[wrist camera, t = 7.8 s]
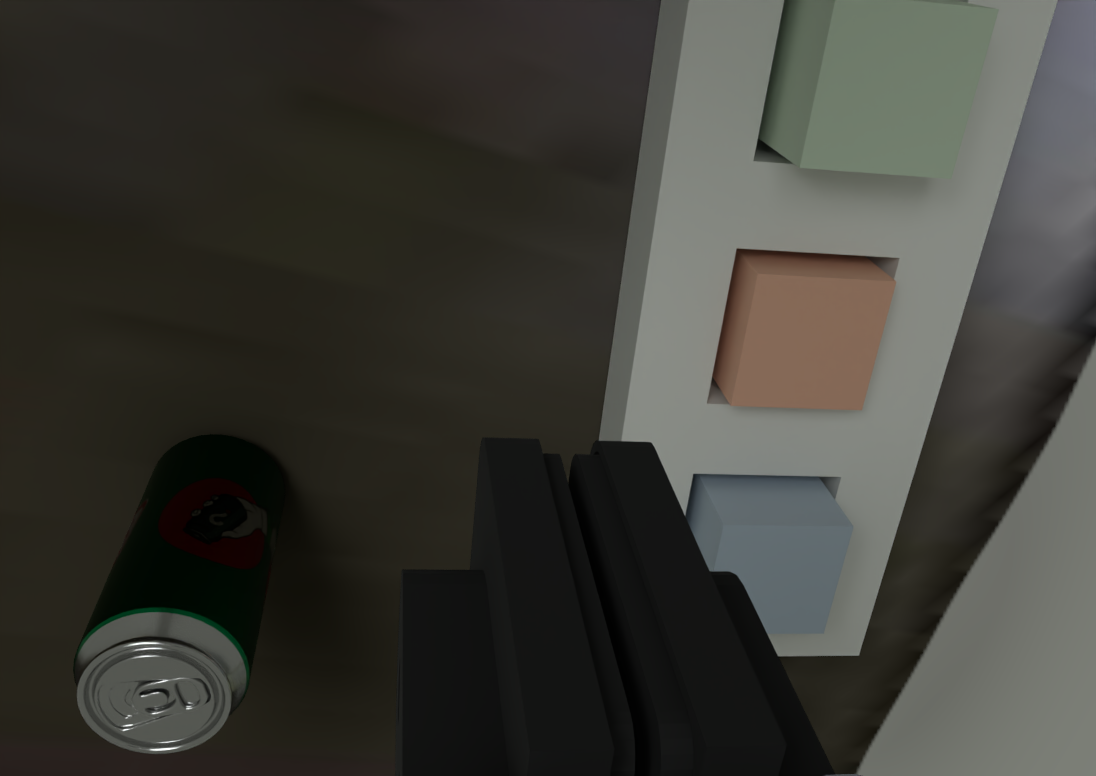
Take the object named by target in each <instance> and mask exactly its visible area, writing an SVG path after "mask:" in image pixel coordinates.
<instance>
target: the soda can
mask: <svg viewBox="0 0 1096 776" xmlns="http://www.w3.org/2000/svg"><path fill="white" fill-rule="evenodd" d="M284 500H285V485H284V481H283V477H282V475H281V473H280V470H279V469H278V467H277V465H276V464H275V462H274V461H273V460H272V459H271V458H270V457H269V456H268V455H267V454H266V453H265V452H264V451H262V450H261V449H260V448H258V447H257V446H255V445H253V444H252V443H249V442H247V441H245V440H243V439H239V438H236V437H233V436H226V435H213V434H210V435H201V436H196V437H193V438H189V439H187V440H184V441H182V442H180V443H178V444H176V445H175V446H173V447H172V448H170V449H169V450H168V451H167V452H166V453H165V454H164V455H163V456H162V457H161V459H160V460H159V461H158V463H157V465H156V467H155V469H154V471H153V473H152V476H151V478H150V480H149V483H148V485H147V487H146V490H145V492H144V494H143V497H142V499H141V501H140V504H139V506H138V508H137V511H136V513H135V515H134V518H133V520H132V522H131V525H130V527H129V529H128V532H127V534H126V536H125V539H124V541H123V543H122V546H121V548H120V550H119V553H118V555H117V557H116V560H115V562H114V564H113V567H112V569H111V571H110V574H109V576H108V578H107V581H106V583H105V585H104V588H103V590H102V592H101V595H100V597H99V600H98V602H97V604H96V607H95V609H94V611H93V614H92V616H91V618H90V621H89V623H88V625H87V628H86V630H85V632H84V635H83V637H82V639H81V642H80V644H79V646H78V649H77V652H76V655H75V658H74V667H73V672H74V679H75V683H76V686H77V702H78V707H79V710H80V712H81V715H82V716H83V718H84V720H85V721H86V723H87V724H88V725H89V726H90V727H91V729H92V730H93V731H95V732H96V733H97V734H98V735H99V736H101V737H102V738H104V739H105V740H107V741H108V742H110V743H112V744H115V745H117V746H119V747H122V748H125V749H128V750H131V751H136V752H141V753H150V754H166V753H174V752H179V751H183V750H187V749H190V748H192V747H195V746H198V745H200V744H201V743H203V742H205V741H207V740H208V739H209V738H211V737H212V736H213V735H215V734H216V733H217V732H218V731H219V729H220V728H221V727H222V726H223V724H224V723H225V721H226V720H227V718H228V716H229V715H231V714H232V713H233V712H234V711H235V709H236V708H237V707H238V706H239V705H240V703H241V702H242V700H243V698H244V697H245V694H246V692H247V689H248V685H249V680H250V675H251V670H252V665H253V660H254V654H255V649H256V644H257V639H258V634H259V629H260V624H261V619H262V613H263V608H264V603H265V598H266V593H267V588H268V583H269V577H270V572H271V567H272V562H273V557H274V552H275V547H276V542H277V536H278V531H279V526H280V521H281V516H282V511H283V506H284Z"/></svg>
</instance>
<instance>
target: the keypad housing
mask: <svg viewBox="0 0 1096 776" xmlns="http://www.w3.org/2000/svg"><path fill="white" fill-rule="evenodd" d="M957 1H961V2H966V3H971V4H976V5H980V6H985V7H990V8H995V9H999V11H998V14H997V18H996V22H995V25H994V29H993V32H992V36H991V39H990V43H989V46H988V50H987V54H986V57H985V61H984V64H983V68H982V71H981V75H980V79H979V82H978V86H977V89H976V93H975V96H974V100H973V103H972V107H971V111H970V114H969V118H968V121H967V125H966V128H965V132H964V136H963V139H962V143H961V146H960V150H959V153H958V157H957V160H956V164H955V168H954V171H953V175H952V178H951V179H944V178H930V177H917V176H903V175H889V174H876V173H862V172H849V171H835V170H822V169H808V168H799V167H798V166H796V165H795V164H793V163H792V162H791V161H789V160H788V159H787V158H785V157H784V156H782V155H781V154H780V153H778V152H777V151H775V150H774V149H773V148H771V147H770V146H768V145H767V144H766V143H764V142H763V141H761V140H758V135H759V129H760V124H761V119H762V114H763V109H764V103H765V98H766V93H767V88H768V83H769V77H770V72H771V67H772V62H773V57H774V51H775V46H776V41H777V36H778V31H779V25H780V20H781V15H782V10H783V5H784V0H661V5H660V12H659V19H658V26H657V33H656V40H655V47H654V54H653V61H652V68H651V75H650V82H649V89H648V96H647V103H646V110H645V117H644V124H643V131H642V138H641V146H640V153H639V160H638V167H637V174H636V181H635V188H634V195H633V202H632V209H631V216H630V223H629V230H628V237H627V244H626V251H625V258H624V265H623V272H622V279H621V287H620V294H619V301H618V308H617V315H616V322H615V329H614V336H613V343H612V350H611V357H610V364H609V371H608V378H607V385H606V392H605V399H604V406H603V413H602V421H601V428H600V435H599V441H633V442H651V443H652V444H653V446H654V447H655V449H656V452H657V454H658V456H659V458H660V461H661V463H662V465H663V467H664V470H665V472H666V474H667V476H668V479H669V481H670V483H671V485H672V488H673V490H674V492H675V494H676V497H677V499H678V501H679V503H680V506H681V508H682V510H683V512H684V515H686V509H687V504H688V499H689V494H690V489H691V483H692V478H693V474H731V475H776V476H819V478H820V479H821V481H822V482H823V483H824V485H825V486H826V488H827V489H828V491H829V492H830V493H831V495H832V496H833V498H834V499H835V501H836V502H837V504H838V505H839V506H840V508H841V509H842V511H843V512H844V514H845V515H846V516H847V518H848V519H849V521H850V522H851V524H852V525H853V526H854V527H853V531H852V534H851V538H850V542H849V545H848V549H847V552H846V556H845V559H844V563H843V567H842V570H841V574H840V577H839V581H838V584H837V588H836V591H835V595H834V599H833V602H832V606H831V609H830V613H829V616H828V620H827V624H826V627H825V631H824V634H768V637H769V639H770V641H771V643H772V645H773V647H774V649H775V651H776V653H777V655H778V656H859V653H860V650H861V647H862V643H863V640H864V637H865V633H866V630H867V627H868V624H869V620H870V617H871V614H872V610H873V607H874V604H875V601H876V597H877V594H878V591H879V587H880V584H881V581H882V577H883V574H884V571H885V568H886V564H887V561H888V558H889V554H890V551H891V548H892V545H893V541H894V538H895V535H896V531H897V528H898V525H899V522H900V518H901V515H902V512H903V508H904V505H905V502H906V498H907V495H908V492H909V489H910V485H911V482H912V479H913V475H914V472H915V469H916V466H917V462H918V459H919V456H920V452H921V449H922V446H923V443H924V439H925V436H926V433H927V429H928V426H929V423H930V419H931V416H932V413H933V410H934V406H935V403H936V400H937V396H938V393H939V390H940V387H941V383H942V380H943V377H944V373H945V370H946V367H947V363H948V360H949V357H950V354H951V350H952V347H953V344H954V340H955V337H956V334H957V331H958V327H959V324H960V321H961V317H962V314H963V311H964V308H965V304H966V301H967V298H968V294H969V291H970V288H971V284H972V281H973V278H974V275H975V271H976V268H977V265H978V261H979V258H980V255H981V252H982V248H983V245H984V242H985V238H986V235H987V232H988V229H989V225H990V222H991V219H992V215H993V212H994V209H995V205H996V202H997V199H998V196H999V192H1000V189H1001V186H1002V182H1003V179H1004V176H1005V173H1006V169H1007V166H1008V163H1009V159H1010V156H1011V153H1012V149H1013V146H1014V143H1015V140H1016V136H1017V133H1018V130H1019V126H1020V123H1021V120H1022V117H1023V113H1024V110H1025V107H1026V103H1027V100H1028V97H1029V94H1030V90H1031V87H1032V84H1033V80H1034V77H1035V74H1036V70H1037V67H1038V64H1039V61H1040V57H1041V54H1042V51H1043V47H1044V44H1045V41H1046V38H1047V34H1048V31H1049V28H1050V24H1051V21H1052V18H1053V15H1054V11H1055V8H1056V5H1057V1H1058V0H957ZM737 248H740V249H757V250H774V251H791V252H807V253H824V254H841V255H858V256H865V257H867V258H868V259H869V260H870V261H872V262H873V263H874V264H875V265H877V266H878V267H879V268H880V269H882V270H883V271H884V272H885V273H887V274H888V275H889V276H890V277H891V278H893V279H894V280H895V281H896V285H895V289H894V293H893V297H892V300H891V304H890V308H889V312H888V315H887V319H886V323H885V326H884V330H883V334H882V338H881V341H880V345H879V349H878V352H877V356H876V360H875V364H874V367H873V371H872V375H871V378H870V382H869V386H868V390H867V393H866V397H865V401H864V405H863V408H862V410H836V409H806V408H776V407H746V406H731V405H730V404H729V402H728V401H727V399H726V397H725V396H724V394H723V393H722V391H721V389H720V388H719V386H718V385H717V383H716V381H715V380H714V378H713V377H712V374H713V369H714V364H715V358H716V353H717V348H718V343H719V338H720V332H721V327H722V322H723V317H724V312H725V306H726V301H727V296H728V291H729V286H730V280H731V275H732V270H733V265H734V260H735V254H736V249H737Z"/></svg>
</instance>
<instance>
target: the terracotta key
mask: <svg viewBox="0 0 1096 776" xmlns="http://www.w3.org/2000/svg"><path fill="white" fill-rule="evenodd" d="M895 285H896V281H895V280H894V279H893V278H891V277H890V276H889V275H888V274H887V273H885V272H884V271H883V270H882V269H880V268H879V267H878V266H877V265H875V264H874V263H873V262H872V261H870V260H869V259H868V258H867V257H865V256H858V255H841V254H824V253H807V252H791V251H774V250H757V249H740V248H737V249H736V254H735V260H734V265H733V270H732V275H731V280H730V286H729V291H728V296H727V301H726V306H725V312H724V317H723V322H722V327H721V332H720V338H719V343H718V348H717V353H716V358H715V364H714V369H713V374H712V377H713V378H714V380H715V381H716V383H717V385H718V386H719V388H720V389H721V391H722V393H723V394H724V396H725V397H726V399H727V401H728V402H729V404H730V405H731V406H746V407H776V408H806V409H836V410H862V408H863V405H864V401H865V397H866V393H867V390H868V386H869V382H870V378H871V375H872V371H873V367H874V364H875V360H876V356H877V352H878V349H879V345H880V341H881V338H882V334H883V330H884V326H885V323H886V319H887V315H888V312H889V308H890V304H891V300H892V297H893V293H894V289H895Z"/></svg>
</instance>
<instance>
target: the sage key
mask: <svg viewBox="0 0 1096 776" xmlns="http://www.w3.org/2000/svg"><path fill="white" fill-rule="evenodd" d="M998 11H999V9H995V8H990V7H985V6H980V5H976V4H971V3H966V2H961V1H957V0H785V3H784V8H783V13H782V18H781V24H780V29H779V34H778V39H777V44H776V50H775V55H774V60H773V65H772V70H771V76H770V81H769V86H768V91H767V96H766V102H765V107H764V112H763V117H762V122H761V128H760V133H759V139H760V140H761V141H763V142H764V143H766V144H767V145H768V146H770V147H771V148H773V149H774V150H775V151H777V152H778V153H780V154H781V155H782V156H784V157H785V158H787V159H788V160H789V161H791V162H792V163H793V164H795V165H796V166H798V167H799V168H808V169H822V170H835V171H849V172H862V173H876V174H889V175H903V176H917V177H930V178H944V179H951V178H952V175H953V171H954V168H955V164H956V160H957V157H958V153H959V150H960V146H961V143H962V139H963V136H964V132H965V128H966V125H967V121H968V118H969V114H970V111H971V107H972V103H973V100H974V96H975V93H976V89H977V86H978V82H979V79H980V75H981V71H982V68H983V64H984V61H985V57H986V54H987V50H988V46H989V43H990V39H991V36H992V32H993V29H994V25H995V22H996V18H997V14H998Z"/></svg>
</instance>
